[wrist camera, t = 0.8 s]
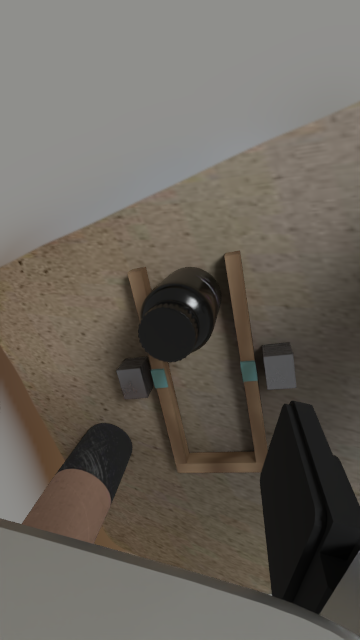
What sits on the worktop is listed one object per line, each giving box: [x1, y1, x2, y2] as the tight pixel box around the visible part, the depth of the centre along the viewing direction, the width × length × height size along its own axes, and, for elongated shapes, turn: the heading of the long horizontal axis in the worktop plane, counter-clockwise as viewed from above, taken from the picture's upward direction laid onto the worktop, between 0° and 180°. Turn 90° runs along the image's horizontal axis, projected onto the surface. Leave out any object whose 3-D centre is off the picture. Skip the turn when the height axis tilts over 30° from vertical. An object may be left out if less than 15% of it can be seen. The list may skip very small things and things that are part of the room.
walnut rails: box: [128, 251, 268, 473], centre depth 38 cm, size 12×28×2 cm, turn 12°
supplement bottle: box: [138, 267, 221, 362], centre depth 31 cm, size 7×7×12 cm
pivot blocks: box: [116, 342, 296, 399], centre depth 38 cm, size 20×4×3 cm, turn 101°
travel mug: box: [22, 423, 132, 544], centre depth 37 cm, size 8×8×20 cm
